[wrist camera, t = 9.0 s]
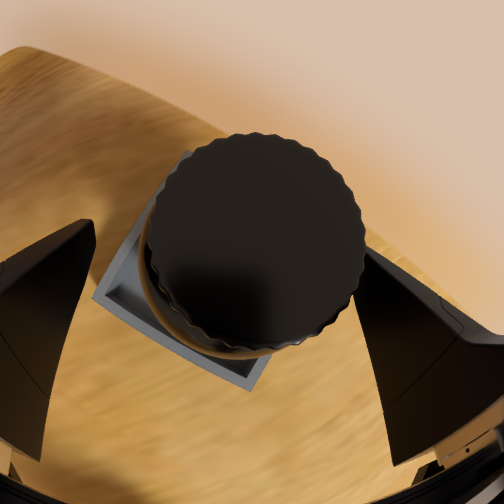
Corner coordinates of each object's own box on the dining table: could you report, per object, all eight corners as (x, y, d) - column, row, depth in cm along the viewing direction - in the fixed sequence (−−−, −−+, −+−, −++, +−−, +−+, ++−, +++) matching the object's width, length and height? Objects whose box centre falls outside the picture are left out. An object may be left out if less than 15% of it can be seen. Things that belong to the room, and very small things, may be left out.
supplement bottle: (155, 231, 17) (92, 118, 5) (261, 210, 18) (351, 91, 7) (180, 342, 16) (145, 428, 5) (287, 315, 18) (425, 335, 6)
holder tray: (316, 244, 19) (332, 237, 17) (243, 380, 17) (250, 391, 15) (187, 167, 19) (186, 150, 16) (104, 298, 16) (91, 298, 14)
